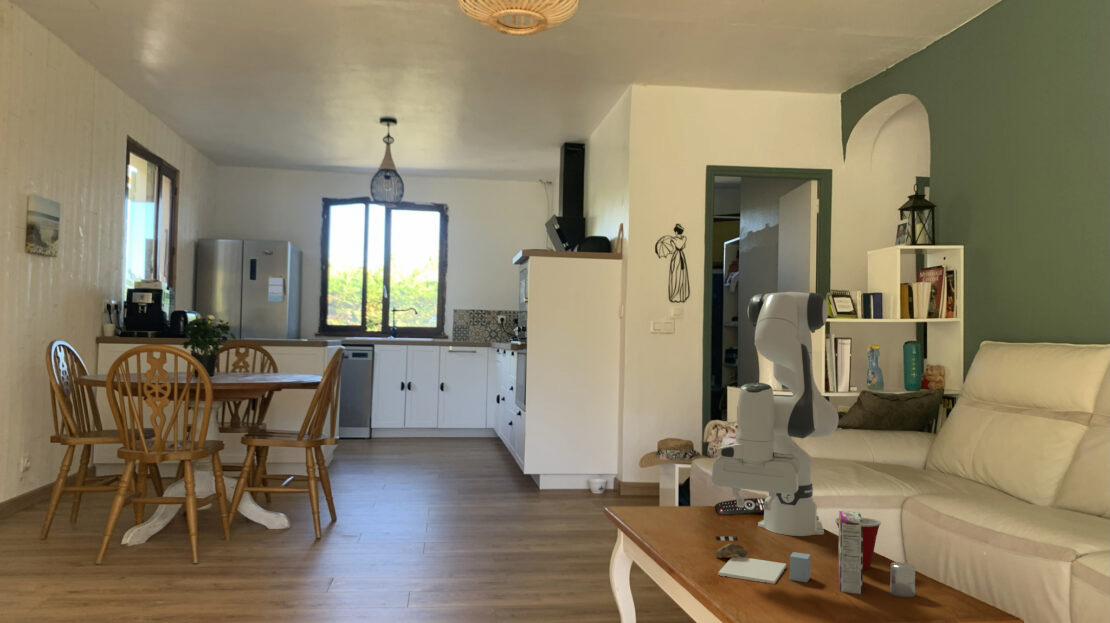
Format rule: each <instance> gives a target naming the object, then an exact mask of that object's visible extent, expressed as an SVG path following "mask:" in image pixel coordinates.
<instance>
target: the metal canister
mask: <svg viewBox="0 0 1110 623" xmlns="http://www.w3.org/2000/svg"><path fill="white" fill-rule="evenodd" d="M889 576H890V581H889V585H890V586H889V592H890V594H891V595H893V596H896V597H899V598H901V597H902V598H914V597H915V596H916V594H915V593H916V565H914V564H911V563H907V562H901V561H897V562H896V561H895V562H891V563H890V575H889Z"/></svg>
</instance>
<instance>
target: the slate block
mask: <svg viewBox="0 0 1110 623" xmlns="http://www.w3.org/2000/svg"><path fill="white" fill-rule="evenodd" d="M810 579H811V554H809V553H804V552H803V553H802V552H797V551H796V552H795V551H792V553H791V554H790V556H789V580H790V581H795V582H802V583H808V582H809V581H810Z"/></svg>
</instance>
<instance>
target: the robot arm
mask: <svg viewBox="0 0 1110 623" xmlns="http://www.w3.org/2000/svg"><path fill="white" fill-rule="evenodd" d="M828 316H829V306H828V304H827V301H826V298H825V297H824V296H823V294H820V293H817V292H801V291H800V292H799V291H786V292H785V291H784V292H771V293H770V292H769V293H765V292H762V293H758V294H754V295H753V296H752V297H751V298H750V300H749V302H748V306H747V317H748V320H749V324H750V325H751V326H752V327H754V328H755V331H754V344H755V347H756V349H757V351H758V353H759V354H760V355H762V357H763V358H765V359H767V360H768V361H770V362H772V365H773V366H772V371H773V372H772V374H773V377H774V379H775V380H776V381H777V382H778V383H779V384H781V385H782V386H784V387H786V388H788V389H789V391H790V392H791V394H792V396H781V395H774V390H773V387H772V386H771V385H770V384H767V383H765V382H750V383H749V382H748V383H745V384H743V385H742V386H741V387H740V390H739V394H738V400H737V407H736V421H737V425H738V430H737V432H736V433H737V434H736V441H735V442H731V443H729V444H728V443H727V444H724V445H721V446H720V447H718V448H717V450H716V455H717V458H716V459H715V460H714V462H713V466H712V471H711V483H712V484H713V486H715V487H723V488H731V489H732V495H733V496H734V498H735V500H736V507H737V508H744V507H745V499H744V498H741V496H740V493H739V492H740V491H741V490H748V491H757V492H768V496H767V497H766V498H765V500H764V502H763V511H764V512H763V519H762V520H760V521H758V522H757V524H758V525H757V527H760V528H763V529H766V531H770V532H771V533H775V534H780V535H785V536H791V537H792V536H793V537H795V536H796V537H805V536H806V537H807V536H812V535H814V536H815V535H817V536H818V535H825V531H824V527H823V524H822V521H821V520H820V518H819V516H818V515H817V514H818V512H817V507H818V506H817V504H816V502H815V501H814V499H813V495H814V494H813V492H814V487H813V483H812V458H811V455H810V454H809V453H808V452H806V451H805V450H804V449H803V448H801V447H799V446H797V445H796V444H795V443H794V441H793V438H796V439H797V438H798V439H802V440H803V439H805V438H821V437H830V436H832V434H834V433H835V431H836V429H837V428H838V426H839V420H840V418H839V414H838V411H837V408H836V407H835V406H834V405H833V403H831V402H830V401H829V400H827V398H825V396H824V395H822V393H821V391H820V390H819V388H818V386H817V384H816V382H815V377H814V369H813V368H814V366H813V340H812V339H813V338H812V334H814V333H815V332H816V331H817V330H820V329H822V327H823V326H824V325H825V324H826V321H827V319H828Z"/></svg>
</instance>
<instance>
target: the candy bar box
mask: <svg viewBox="0 0 1110 623" xmlns="http://www.w3.org/2000/svg"><path fill="white" fill-rule="evenodd" d="M838 518H839V528H838V583H839V584H838V585H839V591H840V592H841V593H850V594H859V595H863V584H864V583H863V576H864V574H863V571H864V570H863V523H862V518H863V517H862V514H861V512H857V511H846V510H839V512H838Z"/></svg>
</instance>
